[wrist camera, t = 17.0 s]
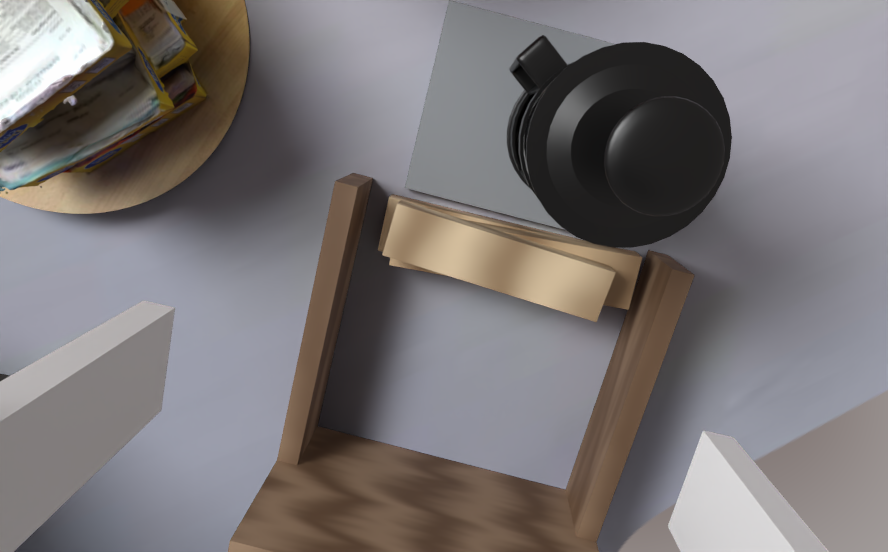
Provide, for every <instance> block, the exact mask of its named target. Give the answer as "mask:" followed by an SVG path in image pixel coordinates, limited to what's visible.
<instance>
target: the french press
mask: <svg viewBox="0 0 888 552" xmlns="http://www.w3.org/2000/svg"><path fill="white" fill-rule="evenodd" d="M509 70H510V72H511V73H512V75H513V76H514V77H515V79H516V80H517V81H518V82H519V84H520V85H521V86H522V87H523V89H524V91H523V92H522V94H521V95H520V97H519V98H518V100H517V101H516V103H515V105H514V107H513V110H512V112H511V114H510V117H509V122H508V127H507V148H508V153H509V158H510V160H511V163H512V165H513V168H514V170H515V171H516V173H517V174H518V176H519V177H520V179H521V180H522V181H523V182H524V183H525V184H526V185H527V186H528V187H529V188H530V189H531V190H532V191H533V192H534V194H535V195H536V197H537V198H538V200H539V201H540V203H541V204H542V206H543V207H544V209H545V210H546V212H547V213H548V214H549V215H550V216H551V217H552V218H553V219H554V220H555V221H556V222H557V223H558V224H559V225H560V226H561V227H562V228H564V229H565V230H567V231H568V232H570V233H571V234H573V235H574V236H576V237H578V238H581V239H583V240H585V241H588V242H590V243H593V244H597V245H602V246H607V247H613V248H615V247H637V246H642V245H647V244H652V243H654V242H657V241H659V240H662V239H665V238H667V237H670V236H671V235H673V234H675V233H676V232H678V231H679V230H681V229H683V228H684V227H686V226H687V225H688V224H689V223H691V222H692V221H693V220H694V219H695V218H696V217H697V216H698V215H699V214H701V213H702V212H703V210H704V209H705V208H706V206H707V205H708V204H709V202H710V201H711V200H712V199H713V197H714V196H715V194H716V192H717V190H718V188H719V186H720V184H721V182H722V180H723V178H724V176H725V172H726V169H727V165H728V162H729V159H730V150H731V139H732V136H731V126H730V117H729V114H728V111H727V108H726V105H725V102H724V98H723V96H722V95H721V93H720V91H719V90H718V88H717V86H716V84H715V83H714V81H713V80H712V79H711V77H710V76H709V75H708V74H707V73H706V72H705V71H704V70H703V69H702V68H701V66H700V65H698V64H697V63H695V62H694V61H692V60H691V59H690V58H688V57H687V56H685V55H684V54H682V53H680V52H677V51H675V50H673V49H670V48H668V47H665V46H661V45H656V44H651V43H646V42H632V43H620V44H615V45H611V46H606V47H602V48H600V49H598V50H596V51H593V52H591V53H589V54H587V55H584V56H582V57H581V58H579V59H578V60H577V61H575V62H572V63H570V64H567V63H566V62H565V61H564V59H563V58H562V57H561V55H560V54H559V53H558V51H557V50H556V49H555V48H554V46H553V45H552V44H551V42H550V41H549V40H548V38H547V37H546V36H544V35H542V36H540V37H538V38H537V39H536V40H535V41H534V42H533V43H531V44H530V45H529V46H528V47H527V48H526V49H525V50H523V51H522V52H521V53H520V54H519V55H518V56H517V57H516V59H515V60H514V62H513V63H512V65H511V67H510V68H509Z"/></svg>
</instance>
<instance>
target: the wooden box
mask: <svg viewBox="0 0 888 552" xmlns="http://www.w3.org/2000/svg"><path fill="white" fill-rule="evenodd" d="M372 180H373V178H371V177H367V176H363V175H359V174H355V173H352V174H350V175H348V176H345V177H343V178H341V179H339V180H337V181H335V185H334V190H333V194H332V199H331V204H330V209H329V214H328V218H327V223H326V228H325V233H324V238H323V242H322V247H321V252H320V257H319V262H318V266H317V271H316V276H315V281H314V286H313V290H312V295H311V300H310V305H309V310H308V314H307V319H306V324H305V329H304V334H303V338H302V343H301V348H300V353H299V358H298V362H297V367H296V372H295V377H294V382H293V386H292V391H291V396H290V401H289V406H288V410H287V415H286V420H285V425H284V430H283V434H282V439H281V444H280V449H279V454H278V458H277V461H276V463H275V465H274V466H273V468H272V470H271V471H270V473H269V475H268V477H267V478H266V480H265V482H264V483H263V485H262V487H261V489H260V490H259V492H258V494H257V495H256V497H255V499H254V501H253V502H252V504H251V506H250V507H249V509H248V511H247V512H246V514H245V516H244V518H243V519H242V521H241V523H240V524H239V526H238V528H237V530H236V531H235V533H234V535H233V536H232V538H231V540H230V543H229V548H228V552H599V550H598V546H597V543H596V541H597V539H598V536H599V533H600V531H601V528H602V525H603V522H604V520H605V517H606V514H607V512H608V509H609V506H610V503H611V501H612V498H613V495H614V493H615V490H616V487H617V484H618V482H619V479H620V476H621V474H622V471H623V468H624V465H625V463H626V460H627V457H628V455H629V452H630V449H631V446H632V444H633V441H634V438H635V436H636V433H637V430H638V427H639V425H640V422H641V419H642V417H643V414H644V411H645V408H646V406H647V403H648V400H649V398H650V395H651V392H652V389H653V387H654V384H655V381H656V379H657V376H658V373H659V370H660V368H661V365H662V362H663V360H664V357H665V354H666V351H667V349H668V346H669V343H670V341H671V338H672V335H673V332H674V330H675V327H676V324H677V322H678V319H679V316H680V313H681V311H682V308H683V305H684V303H685V300H686V297H687V294H688V292H689V289H690V286H691V284H692V281H693V278H694V274H693V273H691V272H690V271H689V270H687V269H686V268H685V267H683V266H682V265H681V264H679V263H678V262H676V261H675V260H674V259H672V258H671V257H670V256H668V255H665V254H662V253H658V252H654V251H650V250H648V253H647V256H646V259H645V261H644V264H643V267H642V270H641V273H640V276H639V279H638V282H637V285H636V288H635V290H634V293H633V296H632V299H631V302H630V306H629V310H628V311H627V314H626V317H625V319H624V322H623V325H622V328H621V331H620V334H619V337H618V340H617V343H616V345H615V348H614V351H613V354H612V357H611V360H610V363H609V366H608V369H607V372H606V374H605V377H604V380H603V383H602V386H601V389H600V392H599V395H598V398H597V401H596V403H595V406H594V409H593V412H592V415H591V418H590V421H589V424H588V427H587V429H586V432H585V435H584V438H583V441H582V444H581V447H580V450H579V453H578V456H577V458H576V461H575V464H574V467H573V470H572V473H571V476H570V479H569V482H568V485H567V487H566V490H564V489H560V488H556V487H552V486H548V485H545V484H541V483H537V482H533V481H529V480H525V479H521V478H517V477H513V476H510V475H506V474H502V473H498V472H494V471H490V470H486V469H482V468H478V467H474V466H471V465H467V464H463V463H459V462H455V461H451V460H447V459H443V458H439V457H436V456H432V455H428V454H424V453H420V452H416V451H412V450H408V449H404V448H401V447H397V446H393V445H389V444H385V443H381V442H377V441H373V440H369V439H366V438H362V437H358V436H354V435H350V434H346V433H342V432H338V431H334V430H331V429H327V428H323V427H319V426H318V422H319V417H320V413H321V408H322V404H323V399H324V395H325V390H326V386H327V382H328V377H329V373H330V368H331V364H332V359H333V355H334V350H335V346H336V341H337V337H338V332H339V328H340V323H341V319H342V314H343V310H344V305H345V301H346V296H347V292H348V288H349V283H350V279H351V274H352V270H353V265H354V261H355V256H356V252H357V247H358V243H359V238H360V234H361V229H362V225H363V220H364V216H365V211H366V207H367V203H368V198H369V194H370V189H371V185H372Z"/></svg>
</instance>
